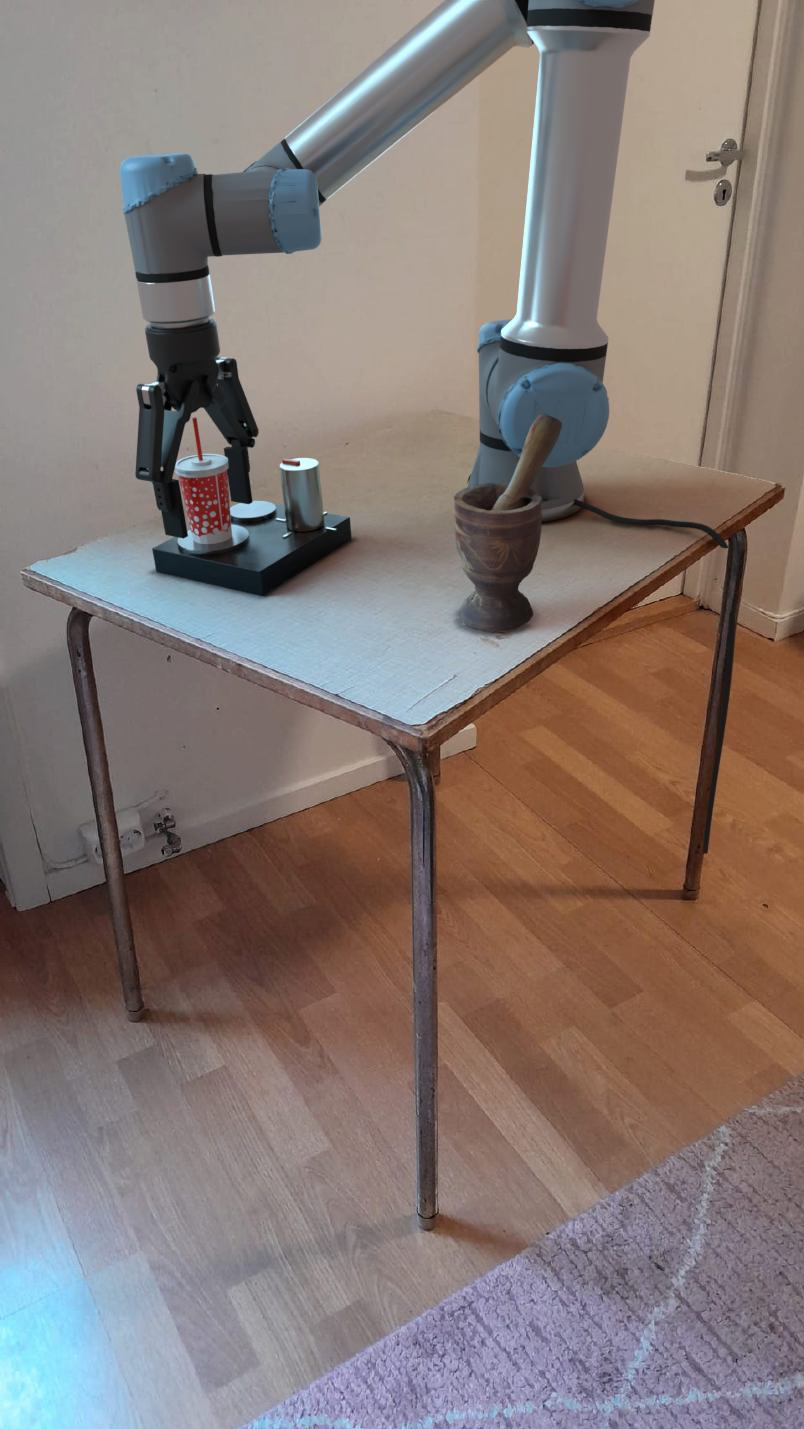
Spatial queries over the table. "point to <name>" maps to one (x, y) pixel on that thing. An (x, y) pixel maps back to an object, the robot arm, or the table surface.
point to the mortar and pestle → (503, 536)
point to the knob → (302, 494)
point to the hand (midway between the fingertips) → (210, 518)
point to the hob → (258, 554)
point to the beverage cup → (206, 494)
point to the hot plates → (239, 534)
